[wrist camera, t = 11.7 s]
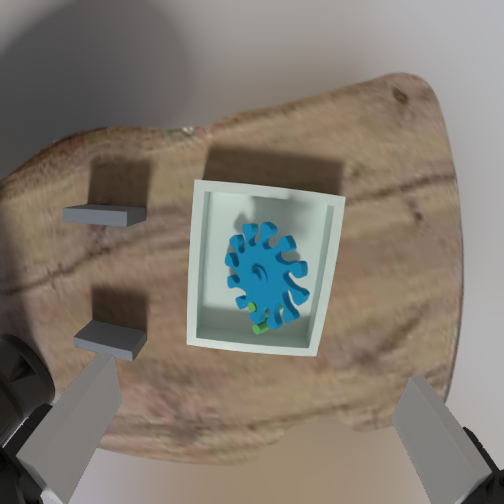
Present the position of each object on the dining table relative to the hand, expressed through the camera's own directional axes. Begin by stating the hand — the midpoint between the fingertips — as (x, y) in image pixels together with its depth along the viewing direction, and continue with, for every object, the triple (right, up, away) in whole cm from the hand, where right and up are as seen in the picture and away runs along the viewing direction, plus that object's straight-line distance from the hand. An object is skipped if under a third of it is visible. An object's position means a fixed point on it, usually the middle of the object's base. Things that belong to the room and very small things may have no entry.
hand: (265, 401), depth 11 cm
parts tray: (0, +5, +20) cm, 21 cm away
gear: (0, +4, +19) cm, 20 cm away
